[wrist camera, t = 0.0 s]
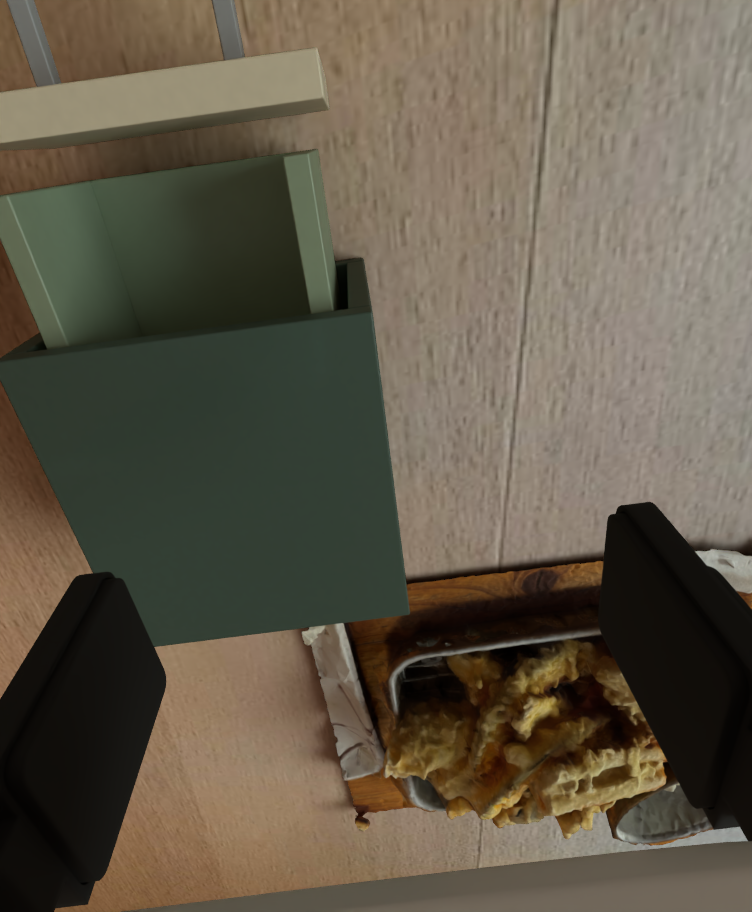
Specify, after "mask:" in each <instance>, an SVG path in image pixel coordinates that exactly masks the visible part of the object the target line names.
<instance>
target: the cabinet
mask: <svg viewBox="0 0 752 912" xmlns="http://www.w3.org/2000/svg"><path fill="white" fill-rule="evenodd" d="M335 265H336V272H337V279H338V285H339V292H340V298H341V305H342V310H336V311H329V312H322V313H314V314H307V315H299V316H292V317H285V318H277V319H270V320H262V321H255V322H247V323H240V324H233V325H225V326H218V327H210V328H203V329H196V330H188V331H181V332H173V333H166V334H158V335H151V336H144V337H136V338H129V339H121V340H114V341H107V342H99V343H92V344H84V345H77V346H69V347H62V348H55V349H47V348H46V345H45V343H44V341H43V338H42V336H41V334H40V333H38V334H37V335H35V336H34V337H32V338H31V339H29V340H28V341H26V342H24V343H23V344H21V345H20V346H18V347H17V348H15V349H13V350H12V351H10V352H9V353H7V354H6V355H4V356H2V357H1V358H0V381H1V383H2V385H3V387H4V389H5V392H6V394H7V396H8V398H9V400H10V402H11V404H12V406H13V408H14V410H15V412H16V414H17V416H18V418H19V421H20V423H21V425H22V427H23V429H24V431H25V433H26V435H27V437H28V439H29V441H30V443H31V445H32V447H33V449H34V452H35V454H36V456H37V458H38V460H39V462H40V464H41V466H42V468H43V470H44V472H45V474H46V476H47V478H48V481H49V483H50V485H51V487H52V489H53V491H54V493H55V495H56V497H57V499H58V501H59V503H60V505H61V507H62V510H63V512H64V514H65V516H66V518H67V520H68V522H69V524H70V526H71V528H72V530H73V532H74V534H75V536H76V538H77V541H78V543H79V545H80V547H81V549H82V551H83V553H84V555H85V557H86V559H87V561H88V563H89V565H90V567H91V570H92V572H93V573H100V572H111V573H112V574H114V576H115V578H121V579H123V580H124V582H125V584H126V586H127V588H128V591H129V593H130V595H131V597H132V599H133V602H134V604H135V606H136V608H137V611H138V613H139V615H140V617H141V619H142V622H143V624H144V626H145V628H146V630H147V633H148V635H149V637H150V639H151V642H152V644H153V646H154V647H157V646H165V645H173V644H181V643H189V642H197V641H205V640H213V639H221V638H228V637H236V636H244V635H252V634H260V633H268V632H276V631H284V630H292V629H300V628H308V627H316V626H323V625H331V624H339V623H347V622H355V621H363V620H371V619H379V618H387V617H395V616H403V615H409V614H410V609H409V601H408V593H407V585H406V577H405V569H404V561H403V553H402V545H401V537H400V529H399V521H398V513H397V505H396V497H395V489H394V481H393V473H392V465H391V457H390V449H389V441H388V433H387V425H386V417H385V409H384V401H383V393H382V385H381V377H380V369H379V361H378V353H377V345H376V337H375V329H374V321H373V313H372V307H371V301H370V295H369V289H368V283H367V277H366V271H365V265H364V260H363V258H356V259H348V260H341V261H335Z"/></svg>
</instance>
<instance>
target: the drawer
mask: <svg viewBox="0 0 752 912" xmlns="http://www.w3.org/2000/svg"><path fill="white" fill-rule="evenodd" d="M7 3H8V6H9V9H10V12H11V14H12V17H13V20H14V23H15V26H16V29H17V32H18V34H19V37H20V40H21V43H22V46H23V49H24V51H25V54H26V57H27V60H28V63H29V66H30V69H31V71H32V74H33V77H34V80H35V83H36V86H37V87H33V88H26V89H19V90H12V91H5V92H0V151H1V150H28V149H55V148H62V147H69V146H76V145H83V144H90V143H97V142H105V141H112V140H119V139H126V138H133V137H140V136H147V135H154V134H162V133H169V132H176V131H183V130H190V129H197V128H204V127H212V126H219V125H226V124H233V123H240V122H247V121H254V120H261V119H269V118H276V117H283V116H290V115H297V114H304V113H311V112H318V111H326V110H329V109H330V108H329V101H328V93H327V86H326V79H325V74H324V71H323V67H322V64H321V60H320V57H319V53H318V50H317V48H315V47H314V48H307V49H300V50H293V51H286V52H279V53H272V54H265V55H258V56H251V57H245V54H244V49H243V44H242V39H241V34H240V29H239V23H238V18H237V13H236V8H235V3H234V0H212V4H213V9H214V14H215V18H216V23H217V28H218V33H219V37H220V42H221V47H222V52H223V57H224V60H223V61H216V62H209V63H202V64H195V65H188V66H181V67H174V68H167V69H160V70H153V71H145V72H138V73H131V74H124V75H117V76H110V77H103V78H96V79H89V80H82V81H75V82H68V83H61V81H60V78H59V75H58V72H57V69H56V66H55V63H54V60H53V57H52V53H51V50H50V47H49V44H48V41H47V38H46V35H45V32H44V29H43V26H42V23H41V20H40V17H39V14H38V11H37V8H36V5H35V2H34V0H7ZM0 240H1V242H2V245H3V247H4V249H5V252H6V254H7V256H8V259H9V261H10V263H11V266H12V268H13V270H14V273H15V275H16V277H17V280H18V282H19V284H20V287H21V289H22V291H23V294H24V296H25V299H26V301H27V303H28V306H29V308H30V310H31V313H32V315H33V317H34V320H35V322H36V324H37V327H38V329H39V331H40V334H41V336H42V338H43V341H44V343H45V345H46V348H47V349H55V348H62V347H69V346H77V345H84V344H92V343H99V342H107V341H114V340H121V339H129V338H136V337H144V336H151V335H158V334H166V333H173V332H181V331H188V330H196V329H203V328H210V327H218V326H225V325H233V324H240V323H247V322H255V321H262V320H270V319H277V318H285V317H292V316H299V315H307V314H314V313H322V312H329V311H336V310H342V305H341V298H340V292H339V285H338V279H337V272H336V265H335V259H334V252H333V246H332V239H331V232H330V226H329V219H328V212H327V206H326V199H325V193H324V186H323V179H322V173H321V166H320V160H319V153H318V149H312V150H305V151H298V152H291V153H284V154H276V155H269V156H262V157H255V158H248V159H240V160H233V161H226V162H219V163H212V164H205V165H197V166H190V167H183V168H176V169H169V170H161V171H154V172H147V173H140V174H133V175H126V176H118V177H111V178H104V179H97V180H90V181H82V182H76V183H70V184H64V185H58V186H52V187H46V188H40V189H34V190H28V191H22V192H16V193H10V194H4V195H0Z"/></svg>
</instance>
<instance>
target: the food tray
mask: <svg viewBox="0 0 752 912" xmlns="http://www.w3.org/2000/svg"><path fill="white" fill-rule="evenodd" d="M695 552H696V553H697V554H698V556H699V557H700V558H701V559H702V560H703V561H704V563H705V564H706V565H707V566H710V567H713V568H715V569H716V570H717V571H718V572H720V573H721V574H722V575H723V576H724V578H725V579H726V580H727V581H728V582H729V583H730V584H731V586H732V587H733V588H734V589H735V590H736V591H737V593H738V594H739V595H740V596H741V597H742V598H743V599H744V601H745V602H746V603H747V604H748V605H749V606H750V608H751V609H752V556H745V555H742V554H741V553H739V552H737V551H729V550H726V551H724V550H716V549H711V550H710V551H695ZM602 570H603V562H602V561H596V562H593V563H592V562H590V563H589V562H588V563H584V564H578V563H577V564H569V565H568V566H567V565H563V566H560V565H558V566H556V567H555V566H554V567H551V568H548V567H546V568H540V569H539V568H538V569H529V570H526V571H524V570H523V571H519V572H518V571H516V572H513V571H509V572H507V573H502V574H500V573H494V574H492V573H491V574H489V575H481V576H469V577H459V578H455V579H454V578H453V579H452V580H449V579H446V580H441V581H434V582H428V581H427V582H422V583H421V582H420V583H412V584H408V585H407V584H406V585H407V593H408V601H409V609H410V614H409V615H403V616H395V617H387V618H379V619H371V620H363V621H355V622H347V623H339V624H331V625H323V626H316V627H309V630H307V631H305V632H304V631H302V632H301V633H302V636H303V640H304V644H306V645H310V644H311V646H312V648H311V649H312V650H313V654H314V656H313V657H314V658H315V662H316V664H317V665H316V664H315V665H316V666H317V669H318V670H319V673H318V675H319V676H321V678H322V679H321V680H320V683H321V687H322V688H323V692H324V693H325V694H324V697H325V700H326V702H327V704H328V705H326V706H328V707H327V710H329V717H330V721H331V722H332V723H331V724H332V726H333V727H334V735H335V736H336V737H337V739H338V740H337V741H338V742H337V743H336V747H337V753H338V756H340V761H341V763H340V764H341V767H342V776H343V778H345V779H344V781H348V785H349V788H350V789H351V790H350V792H352V793H351V796H353V799H354V801H353V803H354V804H353V806H354V807H356V808H355V809H356V812H357V813H358V816H356V817H357V818H355V824H356V825H357V827H358V829H359V830H360V831H365V830H366V829H367V828H368V827H369V825H370V822H369V820H368V819H366V818H363V817H362V816H363V815H364V814H365V813H367V812H373V813H376V812H378V811H387V810H391V809H402V808H413V807H417V808H420V809H422V810H424V811H428V812H434V811H446V812H447V816H448V817H449V818H450V819H454V817H456V816H462V815H463V814H465V812H470V811H471V810H474V811H476V813H477V814H478V816H479V818H480V819H482V820H486V819H490V818H492V820H493V823H494V824H495V825H496V826H497V827H498V828H502V827H503V826H505V825H514V824H529V823H531V822H539V821H540V820H541V819H543V818H544V816H555V817H556V819H557V821H558V823H559V825H560V827H561V830H562V833H563V836H564V838H565V839H570V837H571V835H572V834H574V833H576V832H577V831H578V830H579V827H580V825H581V828H583V829H584V830H592V819H593V813H599V812H600V811H602V813H604V812H605V811H606V815H607V818H608V822H609V826H610V828H611V832H612V837H613V838H615V839H619V840H620V841H625V842H629V843H631V844H634V845H637V844H638V843H642V844H643V845H645V844H647V845H648V844H649V845H651V846H652V845H663V844H666V843H671V842H674V841H675V840H677V839H684V838H688V837H690V836H695V835H696V834H697V833H699V832H705V831H707V830H712V829H713V827H712V825H711V823H710V822H709V820H708V818H707V816H706V814H705V812H704V810H703V809H702V808H700V809H695V808H694V807H693V806H692V805H691V804H690V803H689V801H688V799H687V798H686V796H685V794H684V792H683V790H682V788H681V786H680V784H679V782H678V781H677V779H676V777H675V775H674V773H673V771H672V769H671V767H670V765H669V763H668V761H667V759H666V757H665V756H664V754H663V752H662V750H661V748H660V746H659V744H658V742H657V740H656V738H655V736H654V734H653V732H652V731H651V729H650V727H649V725H648V723H647V721H646V719H645V717H644V715H643V713H642V711H641V709H640V708H639V706H638V704H637V702H636V700H635V698H634V696H633V694H632V692H631V690H630V688H629V686H628V684H627V683H626V681H625V679H624V677H623V675H622V673H621V671H620V669H619V667H618V665H617V663H616V661H615V659H614V658H613V656H612V654H611V652H610V650H609V648H608V646H607V644H606V642H605V640H604V638H603V636H602V634H601V631H600V628H599V624H598V610H599V600H600V590H601V580H602Z"/></svg>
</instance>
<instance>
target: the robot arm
mask: <svg viewBox="0 0 752 912" xmlns="http://www.w3.org/2000/svg"><path fill="white" fill-rule="evenodd" d="M598 624H599V628H600V631H601V634H602V636H603V638H604V640H605V642H606V644H607V646H608V648H609V650H610V652H611V654H612V656H613V658H614V659H615V661H616V663H617V665H618V667H619V669H620V671H621V673H622V675H623V677H624V679H625V681H626V683H627V684H628V686H629V688H630V690H631V692H632V694H633V696H634V698H635V700H636V702H637V704H638V706H639V708H640V709H641V711H642V713H643V715H644V717H645V719H646V721H647V723H648V725H649V727H650V729H651V731H652V732H653V734H654V736H655V738H656V740H657V742H658V744H659V746H660V748H661V750H662V752H663V754H664V756H665V757H666V759H667V761H668V763H669V765H670V767H671V769H672V771H673V773H674V775H675V777H676V779H677V781H678V782H679V784H680V786H681V788H682V790H683V792H684V794H685V796H686V798H687V799H688V801H689V803H690V804H691V805H692V806H693V807H694V808H695V809H700V808H702V809H703V810H704V812H705V814H706V816H707V818H708V820H709V822H710V823H711V825H712V827H713V829H714V830H715V829H723V828H731V827H740V828H741V829H742V831H743V833H744V835H745V836H746V838H747V840H748V841H744V842H723V843H713V844H702V845H691V846H681V847H670V848H660V849H649V850H639V851H628V852H618V853H609V854H601V855H592V856H583V857H574V858H565V859H557V860H548V861H539V862H530V863H521V864H513V865H504V866H495V867H486V868H477V869H468V870H460V871H451V872H443V873H434V874H426V875H418V876H409V877H401V878H392V879H384V880H375V881H367V882H359V883H350V884H342V885H334V886H325V887H317V888H309V889H300V890H292V891H283V892H275V893H267V894H259V895H251V896H243V897H235V898H227V899H219V900H211V901H203V902H195V903H187V904H179V905H171V906H163V907H155V908H147V909H139V910H131V911H123V912H752V609H751V608H750V606H749V605H748V604H747V603H746V602H745V601H744V599H743V598H742V597H741V596H740V595H739V594H738V593H737V591H736V590H735V589H734V588H733V587H732V586H731V584H730V583H729V582H728V581H727V580H726V579H725V578H724V576H723V575H722V574H721V573H720V572H718V571H717V570H716V569H715V568H713V567H710V566H707V565H706V564H705V563H704V561H703V560H702V559H701V558H700V557H699V556H698V554H697V553H696V552H695V551H694V550H693V549H692V547H691V546H690V545H689V544H688V543H687V541H686V540H685V539H684V538H683V537H682V536H681V534H680V533H679V532H678V531H677V530H676V529H675V527H674V526H673V525H672V524H671V523H670V521H669V520H668V519H667V518H666V517H665V516H664V514H663V513H662V512H661V511H660V510H659V509H658V507H657V506H656V505H655V504H653V503H651V502H645V503H637V504H629V505H621V506H619V507H618V509H617V511H616V514H612V515H610V516H609V517H608V521H607V531H606V541H605V551H604V561H603V570H602V580H601V590H600V600H599V610H598ZM165 688H166V674H165V671H164V668H163V666H162V664H161V661H160V659H159V657H158V655H157V653H156V650H155V648H154V646H153V644H152V642H151V639H150V637H149V635H148V633H147V630H146V628H145V626H144V624H143V622H142V619H141V617H140V615H139V613H138V611H137V608H136V606H135V604H134V602H133V599H132V597H131V595H130V593H129V591H128V588H127V586H126V584H125V582H124V580H123V579H121V578H115V576H114V574H112V573H111V572H100V573H92V574H84V575H79V576H77V577H75V579H74V580H73V581H72V583H71V584H70V586H69V588H68V589H67V591H66V592H65V594H64V596H63V597H62V599H61V601H60V602H59V604H58V606H57V607H56V609H55V610H54V612H53V614H52V615H51V617H50V619H49V620H48V622H47V624H46V625H45V627H44V628H43V630H42V632H41V633H40V635H39V637H38V638H37V640H36V642H35V643H34V645H33V646H32V648H31V650H30V651H29V653H28V655H27V656H26V658H25V660H24V661H23V663H22V664H21V666H20V668H19V669H18V671H17V673H16V674H15V676H14V678H13V679H12V681H11V682H10V684H9V686H8V687H7V689H6V691H5V692H4V694H3V696H2V697H1V699H0V912H54V910H55V908H61V907H70V906H78V905H86V904H88V902H89V899H90V896H91V893H92V890H93V887H94V884H95V881H99V880H100V879H102V878H103V876H104V875H105V873H106V871H107V868H108V865H109V862H110V859H111V856H112V853H113V850H114V847H115V844H116V841H117V838H118V834H119V831H120V828H121V825H122V822H123V819H124V816H125V813H126V810H127V807H128V803H129V800H130V797H131V794H132V791H133V788H134V785H135V782H136V779H137V776H138V772H139V769H140V766H141V763H142V760H143V757H144V754H145V751H146V748H147V745H148V741H149V738H150V735H151V732H152V729H153V726H154V723H155V720H156V717H157V714H158V710H159V707H160V704H161V701H162V698H163V695H164V692H165Z"/></svg>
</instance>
